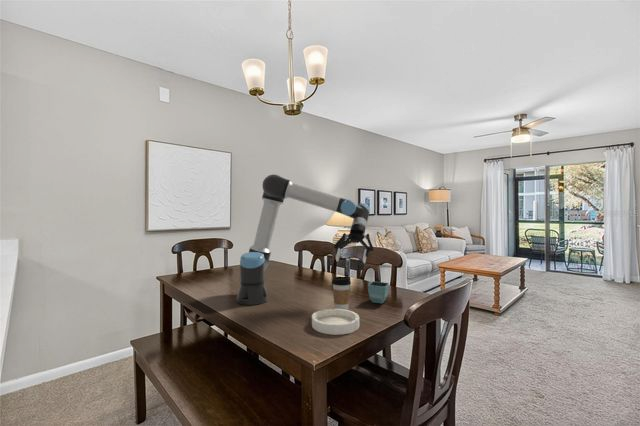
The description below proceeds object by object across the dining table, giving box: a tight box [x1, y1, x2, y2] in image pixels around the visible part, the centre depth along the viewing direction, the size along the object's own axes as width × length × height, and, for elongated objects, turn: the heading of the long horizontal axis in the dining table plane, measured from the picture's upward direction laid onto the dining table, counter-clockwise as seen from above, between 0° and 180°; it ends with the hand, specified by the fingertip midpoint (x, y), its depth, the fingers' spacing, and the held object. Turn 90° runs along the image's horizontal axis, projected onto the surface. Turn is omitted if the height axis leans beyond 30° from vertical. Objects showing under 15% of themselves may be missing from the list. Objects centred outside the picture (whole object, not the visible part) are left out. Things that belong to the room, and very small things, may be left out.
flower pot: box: [367, 281, 390, 305], centre depth 152 cm, size 9×9×9 cm
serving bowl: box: [311, 308, 361, 336], centre depth 122 cm, size 18×18×4 cm
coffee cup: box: [331, 276, 352, 310], centre depth 139 cm, size 8×8×15 cm
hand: (349, 261), depth 149 cm, fingers open, 13 cm apart
